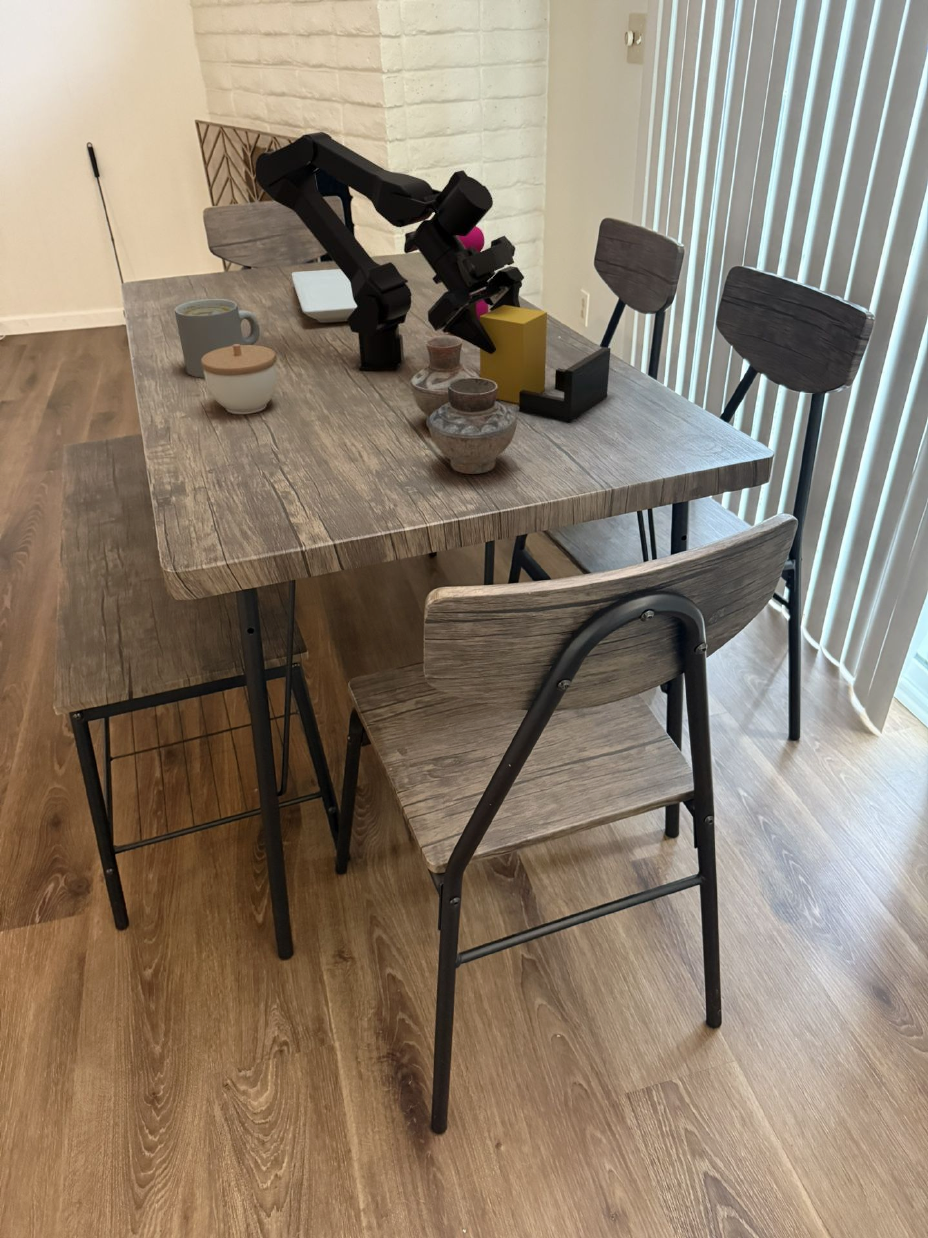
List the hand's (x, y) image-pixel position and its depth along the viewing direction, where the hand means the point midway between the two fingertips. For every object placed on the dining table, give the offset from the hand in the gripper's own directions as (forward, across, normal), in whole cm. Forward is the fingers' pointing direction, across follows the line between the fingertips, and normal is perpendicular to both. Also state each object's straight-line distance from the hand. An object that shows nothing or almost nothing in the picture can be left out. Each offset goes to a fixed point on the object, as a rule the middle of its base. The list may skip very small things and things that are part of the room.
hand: (510, 343), depth 133 cm
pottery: (+9, -21, +2) cm, 22 cm away
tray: (-34, +25, +45) cm, 61 cm away
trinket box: (-16, -26, +28) cm, 41 cm away
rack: (+12, 0, -1) cm, 12 cm away
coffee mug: (-28, -14, +39) cm, 50 cm away
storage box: (+6, 0, +5) cm, 8 cm away
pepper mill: (-10, +22, +21) cm, 32 cm away
